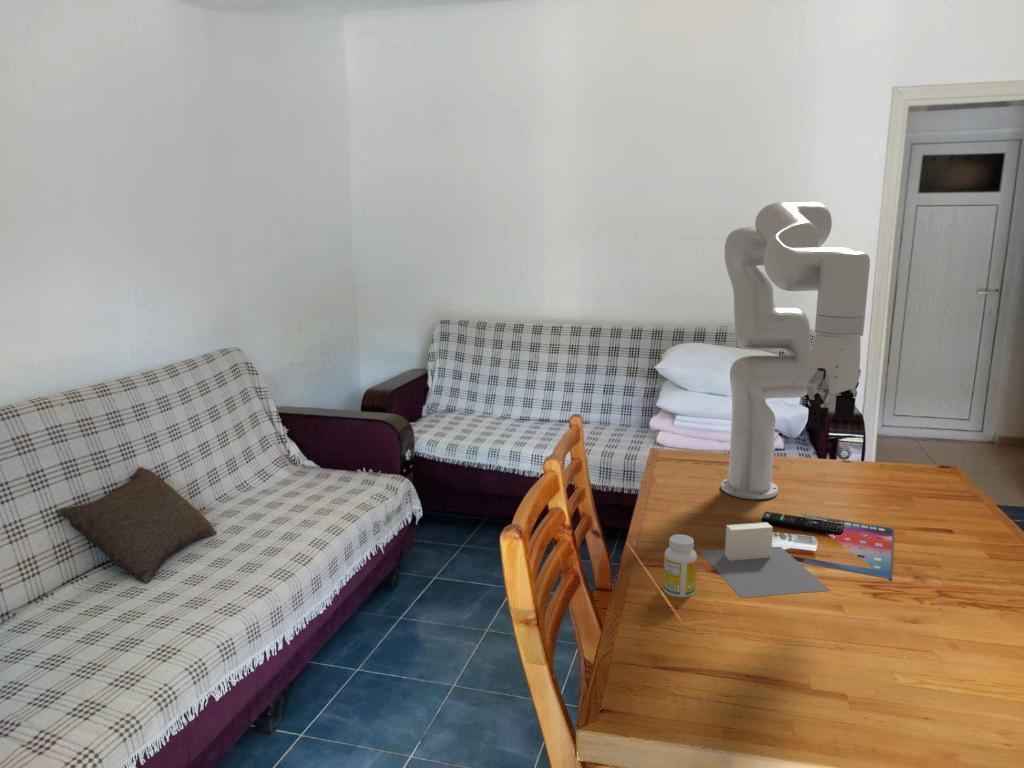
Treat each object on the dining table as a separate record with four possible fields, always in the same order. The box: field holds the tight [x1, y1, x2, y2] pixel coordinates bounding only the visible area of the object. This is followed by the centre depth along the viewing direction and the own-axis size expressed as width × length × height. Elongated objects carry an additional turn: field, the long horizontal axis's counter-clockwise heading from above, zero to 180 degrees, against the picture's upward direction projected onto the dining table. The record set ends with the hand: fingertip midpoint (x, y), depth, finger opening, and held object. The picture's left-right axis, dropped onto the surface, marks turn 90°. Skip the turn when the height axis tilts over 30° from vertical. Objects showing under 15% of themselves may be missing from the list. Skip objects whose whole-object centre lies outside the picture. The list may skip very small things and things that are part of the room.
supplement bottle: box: [662, 533, 698, 598], centre depth 126 cm, size 5×5×10 cm
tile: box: [724, 521, 774, 560], centre depth 139 cm, size 2×8×6 cm, turn 98°
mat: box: [699, 546, 831, 599], centre depth 134 cm, size 18×16×1 cm
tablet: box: [791, 513, 895, 582], centre depth 145 cm, size 19×25×1 cm
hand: (830, 423), depth 129 cm, fingers open, 9 cm apart
